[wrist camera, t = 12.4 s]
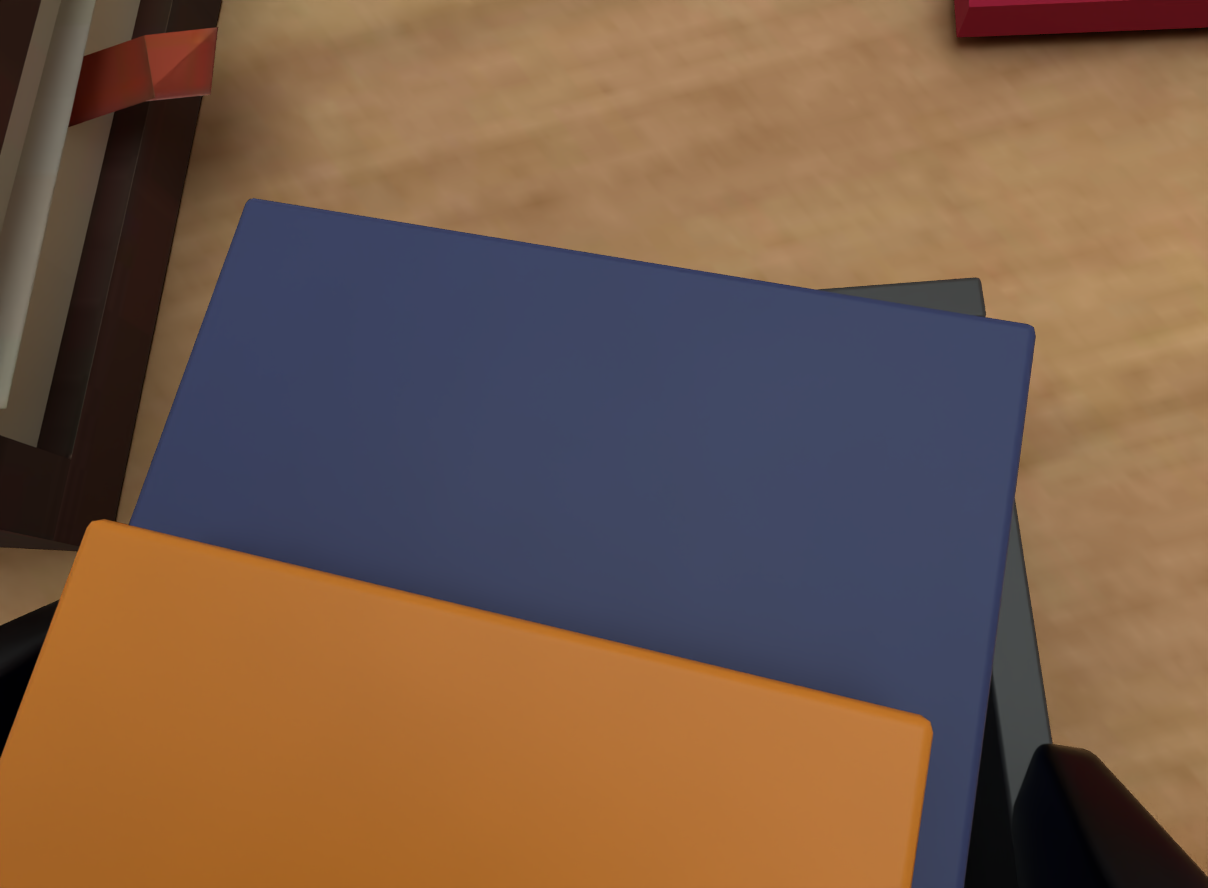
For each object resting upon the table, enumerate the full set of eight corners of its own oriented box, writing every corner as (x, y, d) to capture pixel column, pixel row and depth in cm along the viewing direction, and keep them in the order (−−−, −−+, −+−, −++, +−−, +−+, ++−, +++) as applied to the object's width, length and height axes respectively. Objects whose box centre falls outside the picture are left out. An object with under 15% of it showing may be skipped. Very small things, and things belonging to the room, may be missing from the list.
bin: (999, 1073, 15) (1133, 1258, 10) (299, 1062, 16) (126, 1221, 11) (911, 381, 18) (982, 275, 13) (334, 418, 20) (211, 333, 15)
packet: (732, 949, 15) (849, 2586, 2) (494, 878, 16) (-500, 1771, 3) (798, 587, 17) (1110, 245, 4) (576, 539, 18) (163, 106, 4)
